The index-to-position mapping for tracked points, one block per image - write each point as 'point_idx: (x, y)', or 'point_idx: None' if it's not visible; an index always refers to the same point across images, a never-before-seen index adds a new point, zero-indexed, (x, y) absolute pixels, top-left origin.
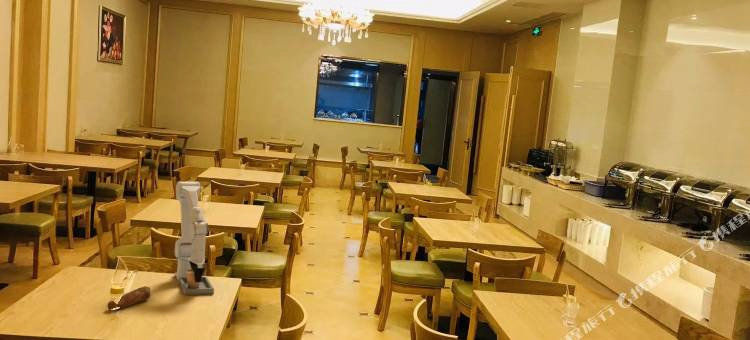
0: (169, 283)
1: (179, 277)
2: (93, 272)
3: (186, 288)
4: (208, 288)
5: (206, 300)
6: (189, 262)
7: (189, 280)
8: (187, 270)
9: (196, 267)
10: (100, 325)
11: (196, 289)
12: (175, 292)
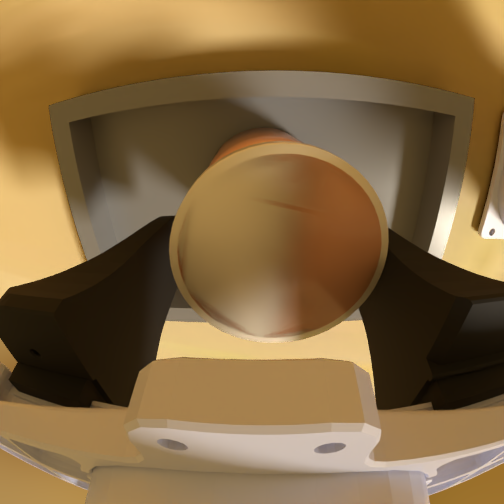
0: (440, 15)
1: (470, 99)
2: None
3: (79, 115)
4: None
5: (19, 234)
6: (466, 300)
7: (217, 157)
8: (355, 177)
9: (12, 352)
10: None
11: (70, 201)
12: (161, 17)
